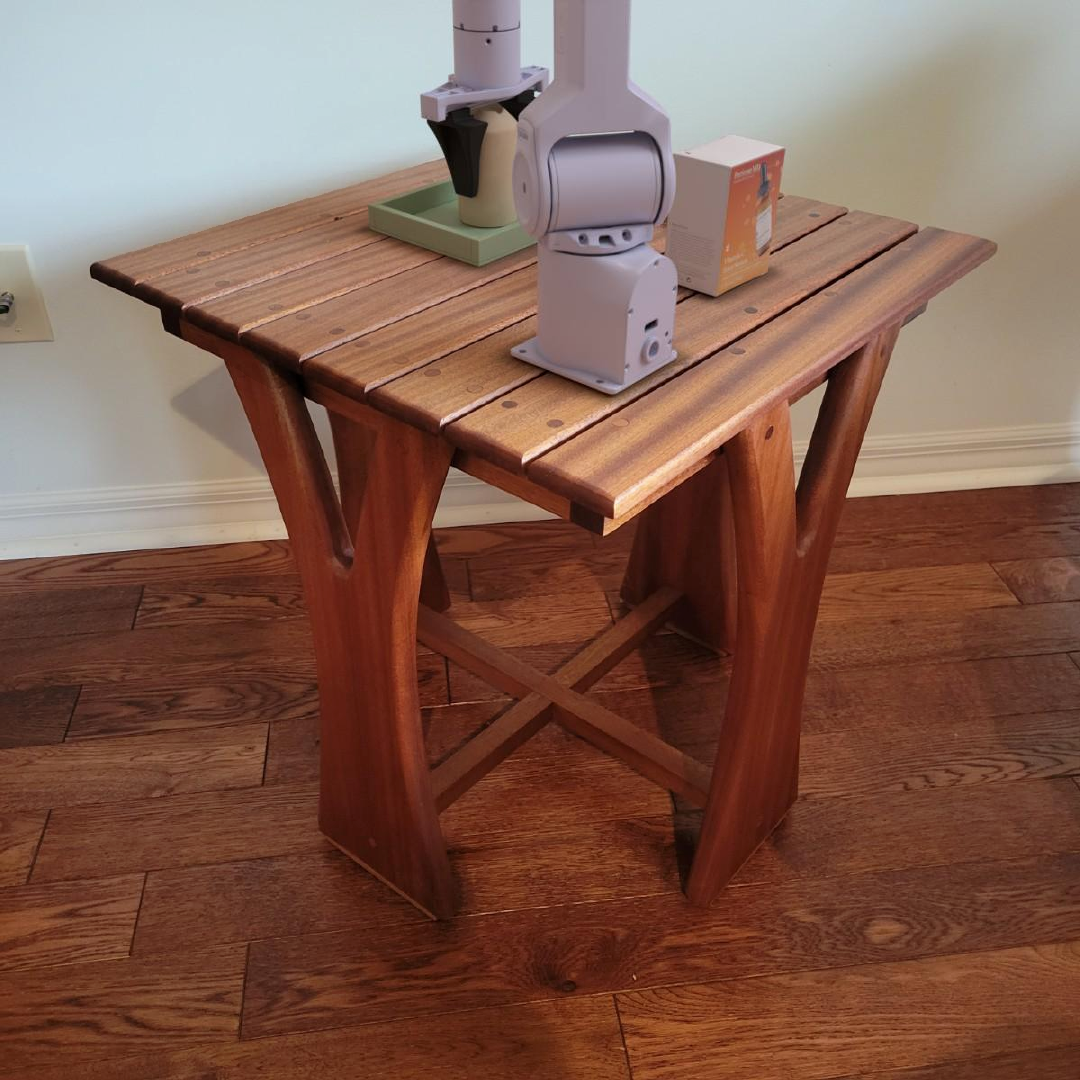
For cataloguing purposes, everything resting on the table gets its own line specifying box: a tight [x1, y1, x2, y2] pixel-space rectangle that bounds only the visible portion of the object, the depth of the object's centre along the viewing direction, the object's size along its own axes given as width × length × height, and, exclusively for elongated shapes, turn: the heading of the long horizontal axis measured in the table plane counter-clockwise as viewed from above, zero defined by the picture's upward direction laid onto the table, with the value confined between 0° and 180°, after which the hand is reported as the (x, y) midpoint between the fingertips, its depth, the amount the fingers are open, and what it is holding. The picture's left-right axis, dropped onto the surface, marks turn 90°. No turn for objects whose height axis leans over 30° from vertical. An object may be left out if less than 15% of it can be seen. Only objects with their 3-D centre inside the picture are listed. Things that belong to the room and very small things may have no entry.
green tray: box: [367, 176, 538, 268], centre depth 101 cm, size 14×18×2 cm
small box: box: [663, 133, 786, 297], centre depth 89 cm, size 8×6×10 cm
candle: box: [458, 103, 518, 227], centre depth 99 cm, size 6×6×10 cm
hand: (488, 187), depth 100 cm, fingers closed on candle, 5 cm apart
